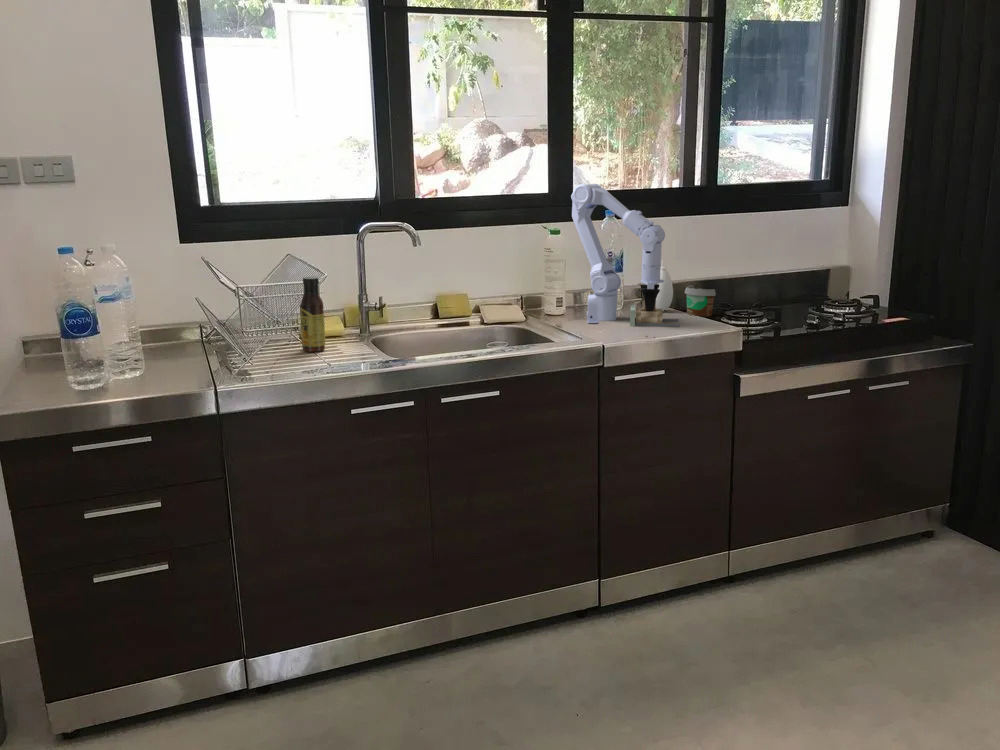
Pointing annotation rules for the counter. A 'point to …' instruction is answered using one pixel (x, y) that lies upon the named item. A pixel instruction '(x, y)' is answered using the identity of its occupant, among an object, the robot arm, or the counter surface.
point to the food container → (699, 301)
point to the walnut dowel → (645, 308)
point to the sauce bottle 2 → (664, 290)
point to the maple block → (649, 316)
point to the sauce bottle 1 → (312, 317)
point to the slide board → (633, 319)
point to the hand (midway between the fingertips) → (649, 309)
